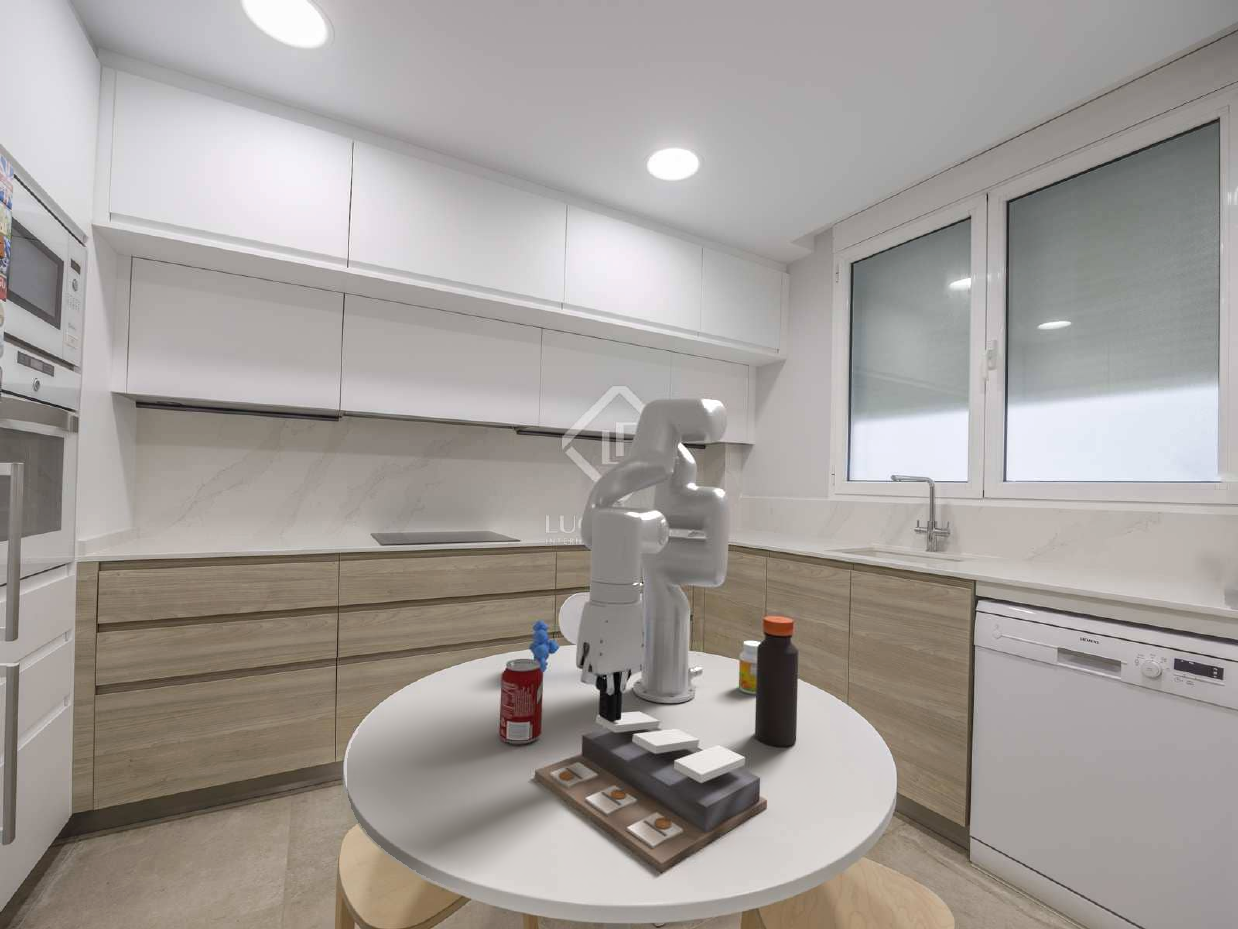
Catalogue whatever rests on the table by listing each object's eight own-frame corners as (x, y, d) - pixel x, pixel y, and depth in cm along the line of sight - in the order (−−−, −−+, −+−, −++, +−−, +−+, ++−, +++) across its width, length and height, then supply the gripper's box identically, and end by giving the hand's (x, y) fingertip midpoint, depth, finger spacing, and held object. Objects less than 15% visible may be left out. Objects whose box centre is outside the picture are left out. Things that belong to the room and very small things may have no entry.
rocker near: (717, 752, 78) (718, 745, 79) (744, 765, 75) (745, 757, 75) (673, 768, 73) (674, 760, 73) (700, 783, 69) (701, 774, 69)
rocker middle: (675, 735, 84) (676, 728, 85) (698, 747, 81) (699, 739, 81) (632, 741, 79) (633, 734, 79) (655, 753, 75) (656, 746, 75)
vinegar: (803, 739, 96) (806, 620, 96) (784, 752, 91) (787, 626, 91) (766, 726, 100) (769, 612, 101) (747, 738, 95) (750, 618, 96)
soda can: (532, 750, 88) (535, 672, 89) (492, 744, 90) (495, 668, 90) (546, 731, 95) (549, 659, 95) (508, 726, 96) (511, 655, 97)
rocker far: (638, 718, 90) (639, 711, 91) (658, 727, 87) (659, 720, 87) (595, 722, 85) (596, 715, 85) (615, 732, 81) (616, 725, 81)
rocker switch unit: (636, 739, 93) (637, 714, 93) (766, 807, 75) (767, 776, 75) (534, 777, 80) (535, 749, 80) (661, 872, 61) (662, 835, 61)
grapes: (560, 683, 118) (563, 625, 118) (528, 684, 116) (530, 626, 117) (556, 665, 129) (558, 613, 130) (526, 666, 128) (528, 613, 128)
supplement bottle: (735, 685, 120) (736, 639, 121) (760, 685, 121) (761, 639, 121) (743, 695, 115) (744, 646, 115) (768, 695, 116) (770, 647, 116)
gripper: (634, 584, 92) (629, 699, 91) (559, 593, 82) (553, 722, 81) (667, 592, 86) (663, 714, 85) (591, 602, 76) (585, 740, 75)
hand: (609, 717), depth 83 cm, fingers closed
